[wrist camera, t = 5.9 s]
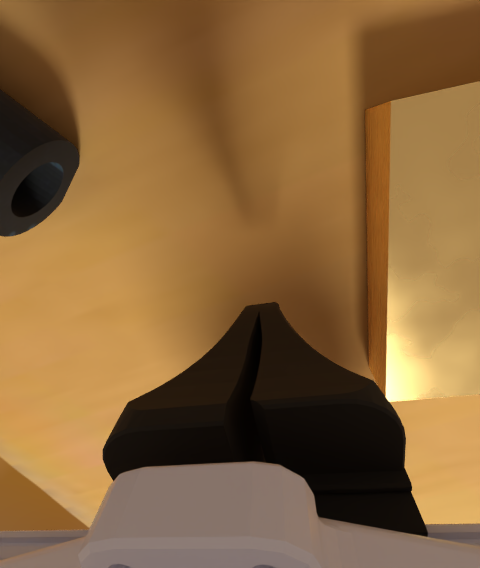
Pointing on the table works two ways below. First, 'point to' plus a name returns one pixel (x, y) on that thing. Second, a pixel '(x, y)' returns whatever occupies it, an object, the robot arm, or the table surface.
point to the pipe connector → (30, 168)
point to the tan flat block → (424, 244)
